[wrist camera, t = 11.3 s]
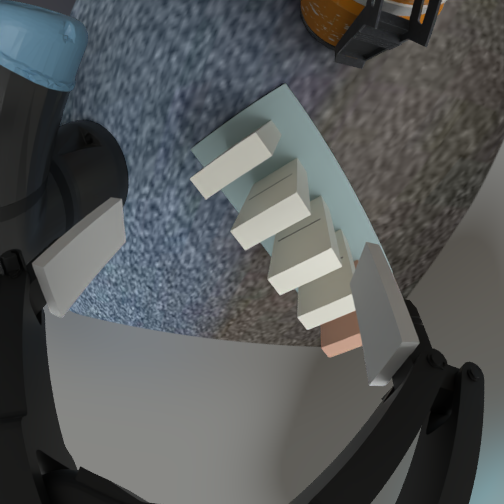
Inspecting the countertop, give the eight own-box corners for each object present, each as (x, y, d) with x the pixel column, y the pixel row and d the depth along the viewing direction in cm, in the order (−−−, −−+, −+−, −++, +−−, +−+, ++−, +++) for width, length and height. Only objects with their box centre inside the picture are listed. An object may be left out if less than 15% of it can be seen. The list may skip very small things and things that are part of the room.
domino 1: (227, 149, 27) (189, 178, 18) (271, 119, 25) (255, 132, 16) (238, 163, 28) (206, 199, 19) (281, 134, 26) (272, 156, 17)
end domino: (318, 278, 34) (321, 347, 24) (357, 259, 32) (375, 326, 22) (324, 288, 34) (329, 357, 25) (363, 270, 32) (381, 338, 23)
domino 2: (253, 184, 29) (230, 230, 20) (297, 157, 27) (296, 191, 18) (263, 198, 30) (245, 250, 20) (306, 172, 27) (311, 214, 18)
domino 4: (299, 250, 32) (296, 316, 23) (340, 228, 30) (356, 291, 21) (307, 261, 33) (307, 330, 24) (347, 241, 31) (364, 306, 21)
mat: (191, 148, 28) (190, 149, 28) (285, 83, 23) (285, 83, 23) (310, 309, 37) (310, 310, 37) (392, 271, 32) (393, 273, 32)
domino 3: (277, 219, 31) (267, 278, 21) (320, 195, 28) (331, 247, 19) (286, 232, 31) (280, 295, 22) (329, 209, 29) (342, 266, 20)
